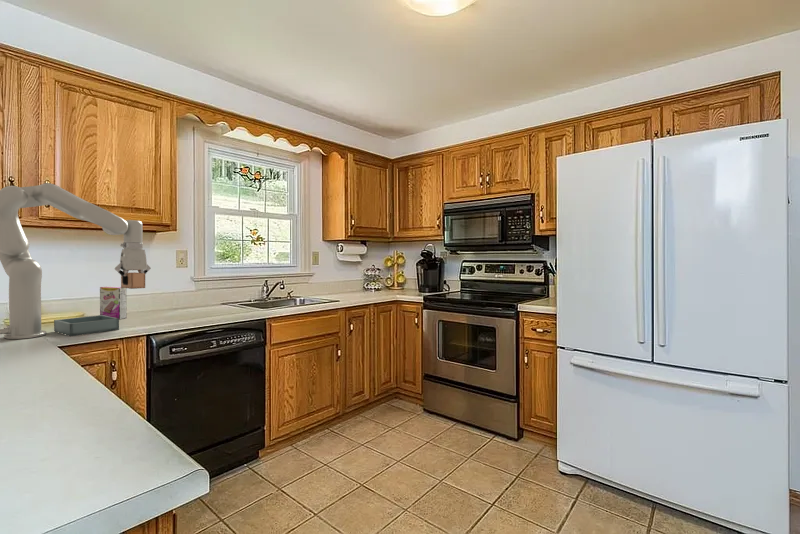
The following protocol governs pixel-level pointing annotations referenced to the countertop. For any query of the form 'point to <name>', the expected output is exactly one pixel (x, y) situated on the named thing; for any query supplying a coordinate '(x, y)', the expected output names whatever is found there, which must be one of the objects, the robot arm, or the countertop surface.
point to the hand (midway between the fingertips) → (133, 283)
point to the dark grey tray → (86, 325)
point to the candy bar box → (113, 302)
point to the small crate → (134, 281)
